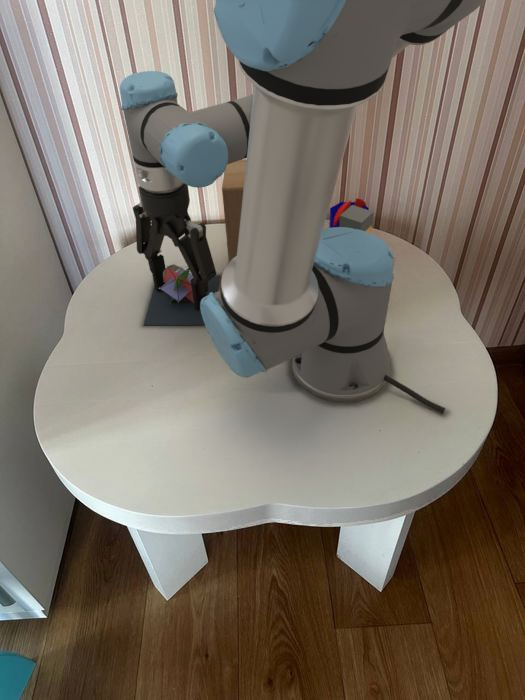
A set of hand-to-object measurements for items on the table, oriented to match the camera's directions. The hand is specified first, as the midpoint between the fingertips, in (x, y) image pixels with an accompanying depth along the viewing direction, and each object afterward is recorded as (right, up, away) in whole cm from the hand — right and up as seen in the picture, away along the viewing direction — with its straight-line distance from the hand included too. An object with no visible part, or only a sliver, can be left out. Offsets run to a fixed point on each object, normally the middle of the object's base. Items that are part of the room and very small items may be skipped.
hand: (181, 296), depth 102 cm
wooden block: (+14, +6, +6) cm, 16 cm away
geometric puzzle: (0, -1, 0) cm, 1 cm away
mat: (0, -1, 0) cm, 1 cm away
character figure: (+30, -2, -2) cm, 30 cm away
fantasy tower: (+31, +9, +8) cm, 33 cm away
